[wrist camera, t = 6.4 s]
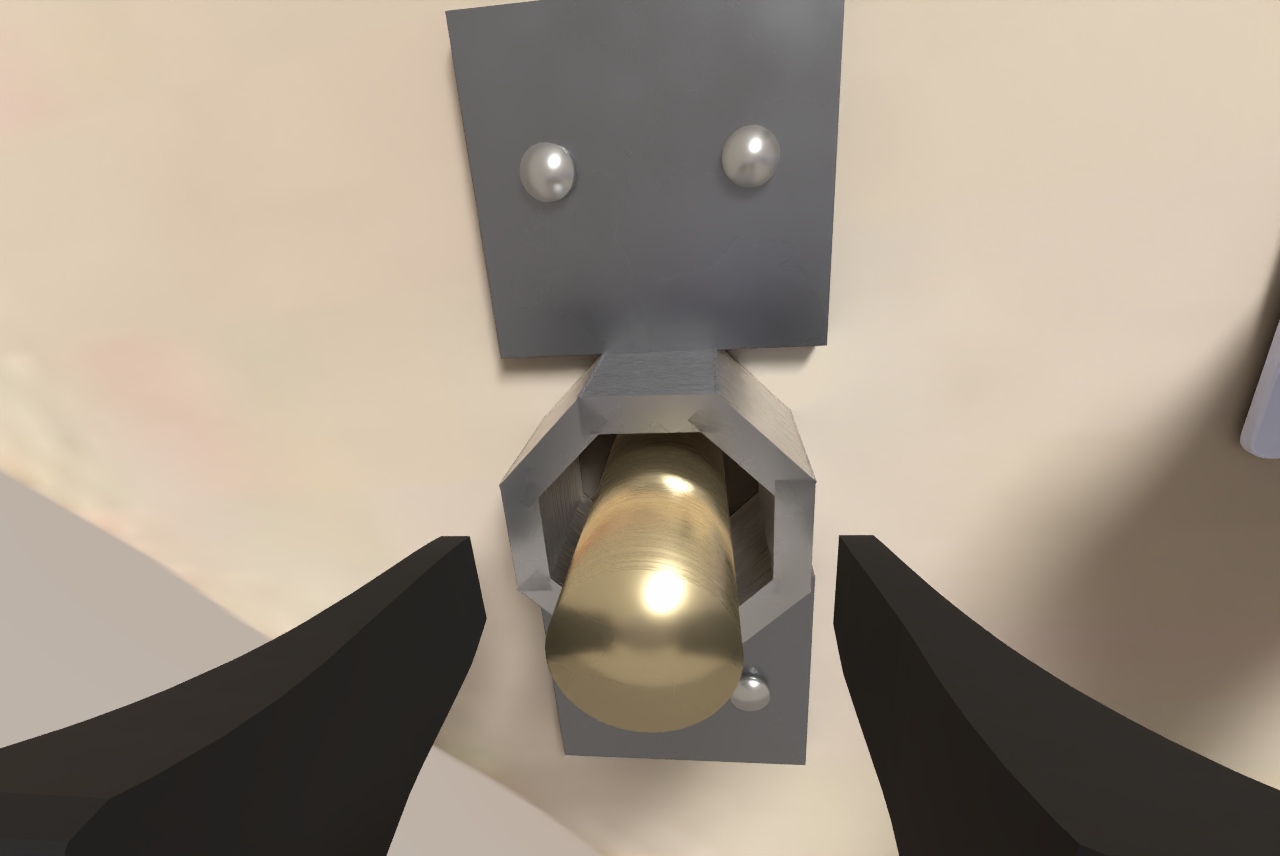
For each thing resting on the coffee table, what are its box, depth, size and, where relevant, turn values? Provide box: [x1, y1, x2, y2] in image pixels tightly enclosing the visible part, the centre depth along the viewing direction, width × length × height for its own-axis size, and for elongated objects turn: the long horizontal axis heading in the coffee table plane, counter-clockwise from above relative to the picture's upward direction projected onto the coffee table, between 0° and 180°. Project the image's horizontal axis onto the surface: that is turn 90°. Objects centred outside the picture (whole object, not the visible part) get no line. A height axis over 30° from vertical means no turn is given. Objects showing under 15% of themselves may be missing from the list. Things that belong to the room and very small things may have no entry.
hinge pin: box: [545, 432, 744, 733], centre depth 13 cm, size 3×3×8 cm
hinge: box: [445, 0, 844, 765], centre depth 15 cm, size 21×8×4 cm, turn 4°
